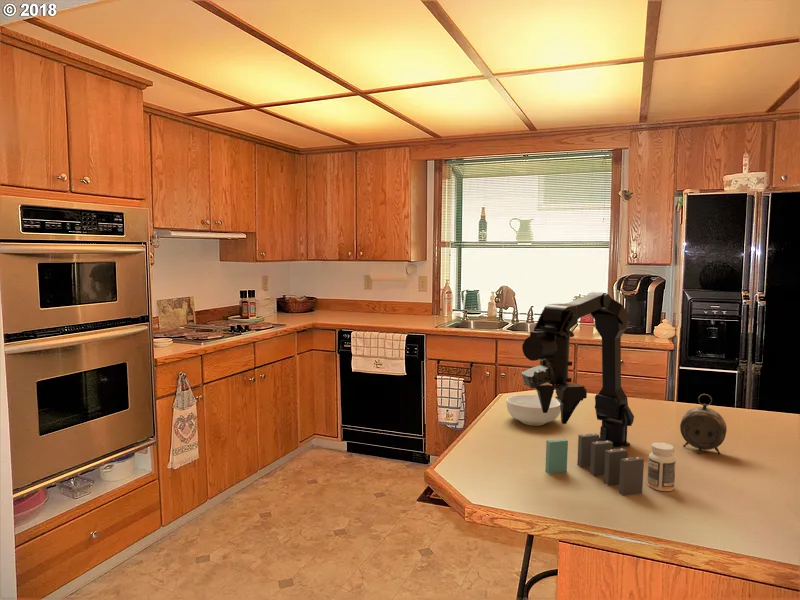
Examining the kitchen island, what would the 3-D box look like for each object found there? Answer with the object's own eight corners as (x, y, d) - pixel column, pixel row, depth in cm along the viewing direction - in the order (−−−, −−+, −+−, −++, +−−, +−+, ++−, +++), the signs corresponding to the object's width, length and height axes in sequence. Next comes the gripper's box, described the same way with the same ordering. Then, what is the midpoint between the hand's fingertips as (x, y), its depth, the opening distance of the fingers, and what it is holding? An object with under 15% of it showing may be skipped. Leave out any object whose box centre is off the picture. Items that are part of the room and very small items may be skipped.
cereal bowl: (566, 419, 179) (567, 398, 179) (551, 434, 165) (551, 411, 165) (516, 411, 188) (517, 390, 188) (497, 424, 174) (498, 402, 174)
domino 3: (607, 471, 138) (608, 439, 137) (611, 474, 136) (613, 441, 136) (590, 473, 137) (591, 441, 136) (593, 476, 135) (595, 443, 134)
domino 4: (621, 480, 133) (623, 447, 132) (626, 483, 131) (628, 449, 130) (603, 482, 131) (605, 448, 131) (608, 485, 130) (609, 451, 129)
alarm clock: (725, 453, 151) (729, 394, 149) (723, 459, 147) (727, 399, 145) (680, 444, 157) (683, 388, 156) (677, 450, 153) (681, 392, 151)
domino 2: (594, 463, 143) (595, 432, 142) (598, 465, 142) (599, 434, 141) (577, 465, 142) (578, 433, 141) (580, 467, 140) (582, 435, 140)
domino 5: (637, 490, 127) (639, 455, 127) (642, 493, 126) (644, 458, 125) (618, 492, 126) (620, 457, 125) (623, 495, 125) (625, 460, 124)
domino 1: (563, 469, 139) (564, 437, 138) (566, 471, 138) (567, 439, 137) (545, 471, 138) (546, 439, 137) (548, 473, 136) (549, 441, 135)
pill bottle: (672, 483, 131) (674, 443, 130) (675, 493, 126) (678, 451, 125) (646, 480, 133) (648, 440, 132) (648, 490, 128) (650, 448, 127)
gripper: (510, 350, 143) (507, 409, 145) (546, 364, 125) (543, 432, 127) (549, 349, 146) (546, 407, 147) (589, 363, 128) (586, 429, 129)
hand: (554, 418), depth 137 cm, fingers open, 9 cm apart
